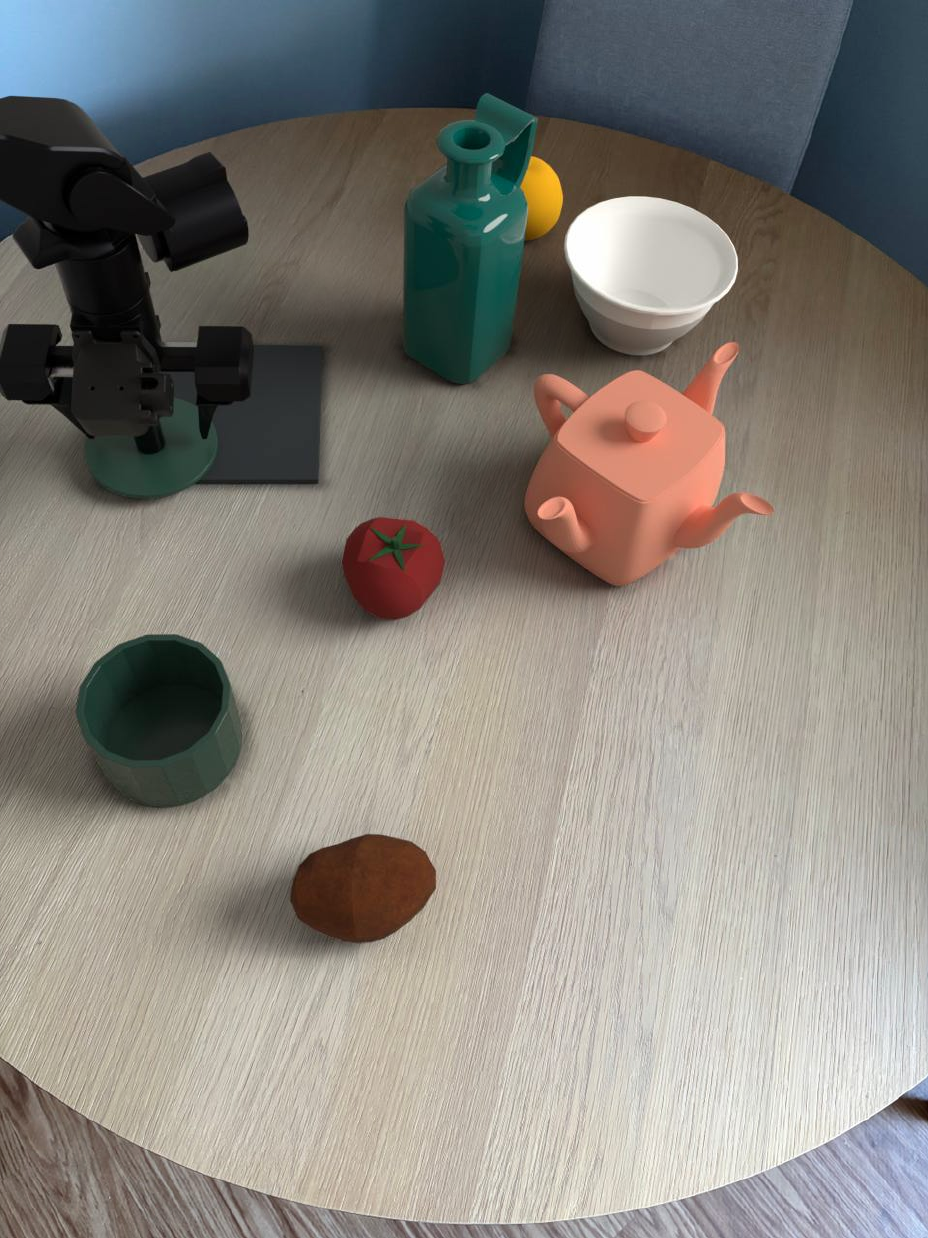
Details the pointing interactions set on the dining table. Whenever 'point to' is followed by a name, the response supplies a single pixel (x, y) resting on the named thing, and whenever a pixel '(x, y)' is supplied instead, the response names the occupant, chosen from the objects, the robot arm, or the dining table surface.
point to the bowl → (647, 270)
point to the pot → (633, 471)
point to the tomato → (392, 566)
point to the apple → (541, 198)
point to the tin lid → (154, 456)
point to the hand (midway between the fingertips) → (149, 435)
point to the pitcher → (467, 243)
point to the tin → (160, 719)
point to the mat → (268, 420)
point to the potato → (362, 887)
